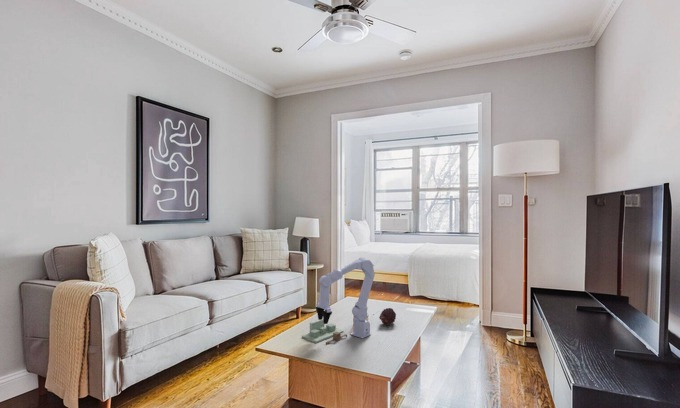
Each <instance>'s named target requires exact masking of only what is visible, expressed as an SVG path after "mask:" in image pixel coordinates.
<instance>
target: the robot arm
mask: <svg viewBox="0 0 680 408" xmlns="http://www.w3.org/2000/svg"><path fill="white" fill-rule="evenodd" d="M354 270H358V271H359V270H360V271H362V272H363V274H364V278H363V282H362V285H361V289H360V293H359V295H358V299H357V301H356V302H355V305H354V306H353V307H352V309H351V314H352V315H353V317H352V322H353V325H352V326H353V330H352V332H351V333H349V334H350V335H351V336H354V337H357V338H359V339H364V338H367V337H369V336H371V335H372V333H371V323H370V322H369V321H368V320H367V317H368V306H367V304H368V300H369V297H370V293H371V289H372V287H373V282H374V278H375V274H376V273H375V270H374V264H373V262H372V261H371V260H370V259H366V258H365V257H359V258H358V259H355V260H354V261H352V262H351V263H349V264H348V265H345V266H344V267H343V268H340V269H337V268H335V269H333V270H332V271H331V272H330V273H326V274H325V275H322V276H320V278H319V279H318V283H319V295H318V296H319V297H318V299H319V300H318V302H316V306H315V310H316V313H317V320H322V319H323V322H324V325H328V323H329V320H330V317H331V315H332V314H333V311H332V308H330V307H331V306H330V295H331V294H330V293H331V291H330V289H331V286H332V284H334V283H336V282H337V281H339V280H341V279H343V276H344V275H346V274H348V273H350V272H352V271H354Z"/></svg>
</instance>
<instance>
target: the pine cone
mask: <svg viewBox="0 0 680 408" xmlns="http://www.w3.org/2000/svg"><path fill="white" fill-rule="evenodd" d="M396 317H397V314H396V312H395V310H394V309H393V308H391V307H388V308H384V309H383V310H382V311H381V312H380V313H379V320H381V323H382V324H383V325H385V326H390V325H393V323H395V320H396V319H397V318H396Z"/></svg>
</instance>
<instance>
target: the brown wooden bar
mask: <svg viewBox="0 0 680 408" xmlns="http://www.w3.org/2000/svg"><path fill="white" fill-rule="evenodd" d="M347 337H348V334H346V333H344V334H342V333H339V332H334V333H333V337H332V339H327V340H326V342H325V344H326V345H334V344H335V343H336V342H339V341H341V340H346V338H347Z"/></svg>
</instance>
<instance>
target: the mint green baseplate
mask: <svg viewBox="0 0 680 408" xmlns="http://www.w3.org/2000/svg"><path fill="white" fill-rule="evenodd" d="M334 332H339V333H341V334H342V333H344V329H339V328H336V324H333V323H329V324H324V322H323V318H322V320H318V319H317V320H313V321H309V333H305V334H303V335H301V338H303V339H304V340H308V341H311V342H313V343H314V344H318V343H320V342H323V341H325V340H329V339H330V338H333V333H334Z"/></svg>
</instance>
